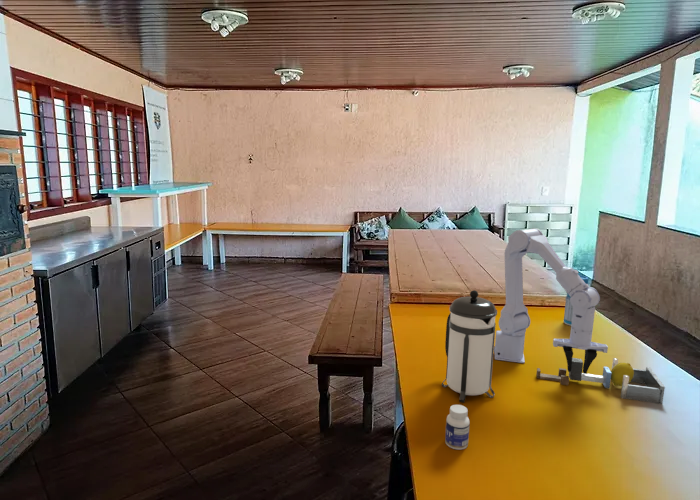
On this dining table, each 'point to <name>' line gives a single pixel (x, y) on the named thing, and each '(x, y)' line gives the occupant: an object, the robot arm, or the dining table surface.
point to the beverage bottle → (569, 306)
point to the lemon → (621, 373)
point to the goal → (642, 393)
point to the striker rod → (578, 375)
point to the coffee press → (470, 345)
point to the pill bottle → (457, 427)
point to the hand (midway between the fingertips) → (576, 371)
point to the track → (560, 377)
